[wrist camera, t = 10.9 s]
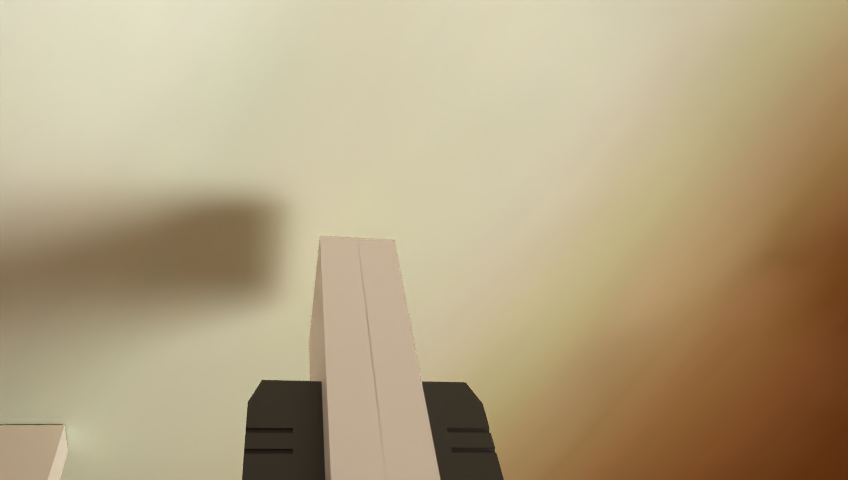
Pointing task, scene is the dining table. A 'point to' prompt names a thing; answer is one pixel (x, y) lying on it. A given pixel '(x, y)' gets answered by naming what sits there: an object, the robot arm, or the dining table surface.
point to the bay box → (32, 452)
